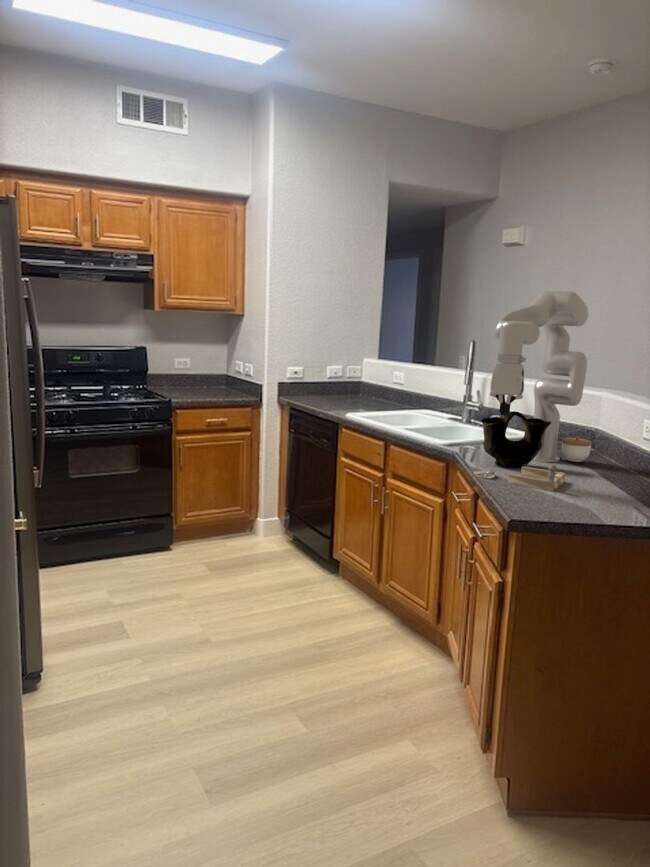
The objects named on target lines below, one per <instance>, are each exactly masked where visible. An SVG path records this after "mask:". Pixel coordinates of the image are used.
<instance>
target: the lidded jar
mask: <svg viewBox="0 0 650 867" xmlns="http://www.w3.org/2000/svg"><path fill="white" fill-rule="evenodd" d="M561 442H562V443H561V452H562V454H563V456H564V457H565V459H566V460H567V461H570V462H576V463H581V462H584V461H585V460H586V459H587V458H588V457H589V455H590V453H591V450H592V444H593V442H592V441H591V440H589V439H585V438H580V436H578V435H576V436H575V437H564V438H562V440H561Z"/></svg>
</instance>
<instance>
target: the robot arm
mask: <svg viewBox="0 0 650 867" xmlns="http://www.w3.org/2000/svg"><path fill="white" fill-rule="evenodd" d="M588 317H589V308H588V306H587V303H585V301H584V299H582V297H581V296H580V295H578V293H576V292H574V291H568V290H567V291H566V290H549V291H548V290H547V291H544V292H542V293H540V294H539V296H537V298H536V299H534V301H533V302H531V304H530V305H528V306H525V307H522V308H519V309H517V310H514V311H511V312H509V313H507V314H505V315H504V316H503V317H502V318H501V319H500V320H499V322H498V323H497V325H496V326H495V329H494V337H495V339H496V341H497V342H498V352H497V360H496V361H497V362H496V363H495V364H494V367H493V371H492V374H491V375H492V376H491V379H490V380H491V381H490V392H489V396H490V397H492V398H495V399H497V401H498V402H499V413H500V416H503V417H505V416H507V415H508V414H509V413H510V412H511V404H512V403H513V402H514V401H515V400H522V399H523V397H524V396H523V394H524V392H525V367H524V366H525V365H524V364H522V363H523V362H526V360H527V359H526V357H524V355H523V345H527V346H529V345H533V344H534V343H536V342H537V341H538V340H539V337H540V334H541V333H540V327H543V328H544V331H545V336H546V339H545V340H546V341H545V347H544V353H543V358H542V371H543V373H544V374H546V375H552V376H559V377H569V378H570V380H569V379H561V378H551V377H550V378H549V377H547V378H545V377H544V378H543V377H542V378H540V379H538V380H537V381H536V382H535V384H534V386H533V395H534V398H533V399H534V413H533V418H537V419H542V420H544V421H546V422H547V421H548V422H551V424H550V425H549V426H548V427H547V429H546V430H545V432H544V434H543V437H542V447H541V449H540V450H539V452H538V454H537V455H536V457H535V458H534V459H533V460H532V461H533V462H540V463H547V462H554V463H558V461H559V462H560V461H561V460H560V459H561V458H560V457H559V456H557V449H558V438H559V430H560V420H561V415H560V412H559V410H558V408H557V406H556V405H561V406H566V407H567V406H570V407H575V406H578V405H579V404H580V403H581V400H582V397H583V394H584V387H585V381H586V375H587V369H588V360H587V359H588V358H587V356H586V355H585V353H584V352H581V351H573V350H569V349H570V342H571V337H570V334H569V332H568V331H567V329H566V328H565V327H581V326H584V325H585V324H586V322H587V321H588V319H589V318H588ZM506 395H507V397H506Z"/></svg>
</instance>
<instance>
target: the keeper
mask: <svg viewBox="0 0 650 867" xmlns="http://www.w3.org/2000/svg"><path fill="white" fill-rule="evenodd" d="M556 467H557V466H556V465H553V464H550V465H548V469H541V468H535V467H530V466H525V465H523V466H521V467H520V468H521V470H520V475H519V474H513V473H510V474H508V480H507V481H508V482H507V483H508V484H511V485H516V486H521V487H527V488H534V489H537V490H544V491H548V492H554V489H555V490H556V489H557V488H559V487H560V486H562V484H564V483H565V477H566V473H565V472H560V471H556V470H557V469H556ZM563 482H564V483H563ZM559 485H560V486H559Z"/></svg>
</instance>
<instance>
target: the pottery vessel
mask: <svg viewBox="0 0 650 867" xmlns="http://www.w3.org/2000/svg"><path fill="white" fill-rule="evenodd" d="M515 416H517V417H518V418H520V419H521V421H522V423H523V425H524V428H525V429H524V436H523V438H522V439H519V440H511V439H509V438H507V435H506V433H507V429H508V426H509V423H510V421H511V420H512V419H513V417H515ZM480 420H481V423H482V429H483V430H482V432H483V436H484V437H483V438H484V441H483V449H484V452H485V453H486V454H488V455H489V456H490V457H492V458H493V459H495V461H494V464H496V465H498V464H501V465H500V466H503V467H505V468H518V467H520V466H522V465H523V466H528V465H529V464H530V463H531V461H533V459H534V458H535V457H536V455H537V454H538V452H539V450H540V449H541V447H542V437H543V434H544V432H545V430H546V429H547V427H548V426H549V425H550V424H551V422H548V421H547V422H546V421H544V420H542V419H537V418H534V417H533V418H526V416H525V415H523V413H521V412H519V411H510V413H508V415H507V416H503V417H500V416H499V417H496V416H493V417H484V418H482V419H480Z"/></svg>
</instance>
